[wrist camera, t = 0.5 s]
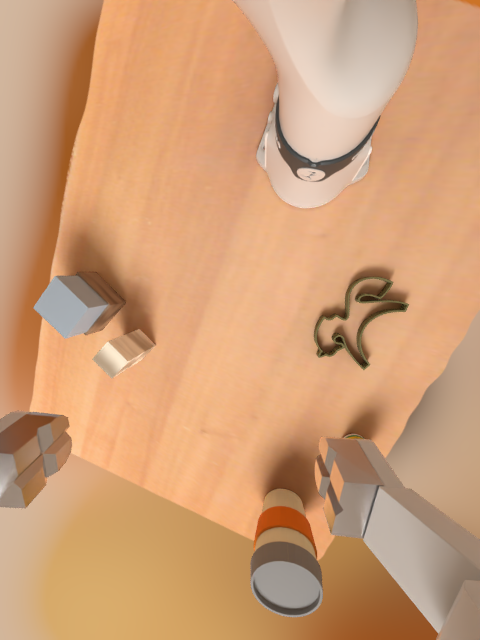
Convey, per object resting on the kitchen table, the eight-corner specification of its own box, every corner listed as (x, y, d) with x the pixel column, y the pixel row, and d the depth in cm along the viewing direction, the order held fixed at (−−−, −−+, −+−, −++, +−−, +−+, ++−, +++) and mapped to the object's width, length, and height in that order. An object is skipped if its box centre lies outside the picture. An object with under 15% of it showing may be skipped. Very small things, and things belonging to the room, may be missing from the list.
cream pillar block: (139, 328, 51) (107, 341, 41) (155, 345, 51) (128, 361, 42) (126, 343, 52) (92, 359, 43) (142, 359, 53) (111, 378, 43)
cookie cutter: (356, 374, 46) (360, 379, 44) (302, 346, 47) (303, 349, 45) (412, 293, 42) (418, 294, 40) (352, 263, 43) (355, 263, 41)
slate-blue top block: (78, 275, 46) (55, 275, 41) (108, 304, 46) (88, 308, 41) (57, 304, 48) (33, 307, 43) (86, 332, 48) (65, 338, 43)
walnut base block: (96, 272, 50) (77, 271, 46) (126, 302, 51) (110, 305, 46) (74, 301, 53) (54, 303, 48) (103, 329, 53) (85, 335, 48)
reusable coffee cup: (273, 534, 56) (273, 625, 41) (246, 492, 55) (235, 571, 40) (321, 517, 53) (338, 608, 39) (293, 473, 52) (300, 550, 38)
